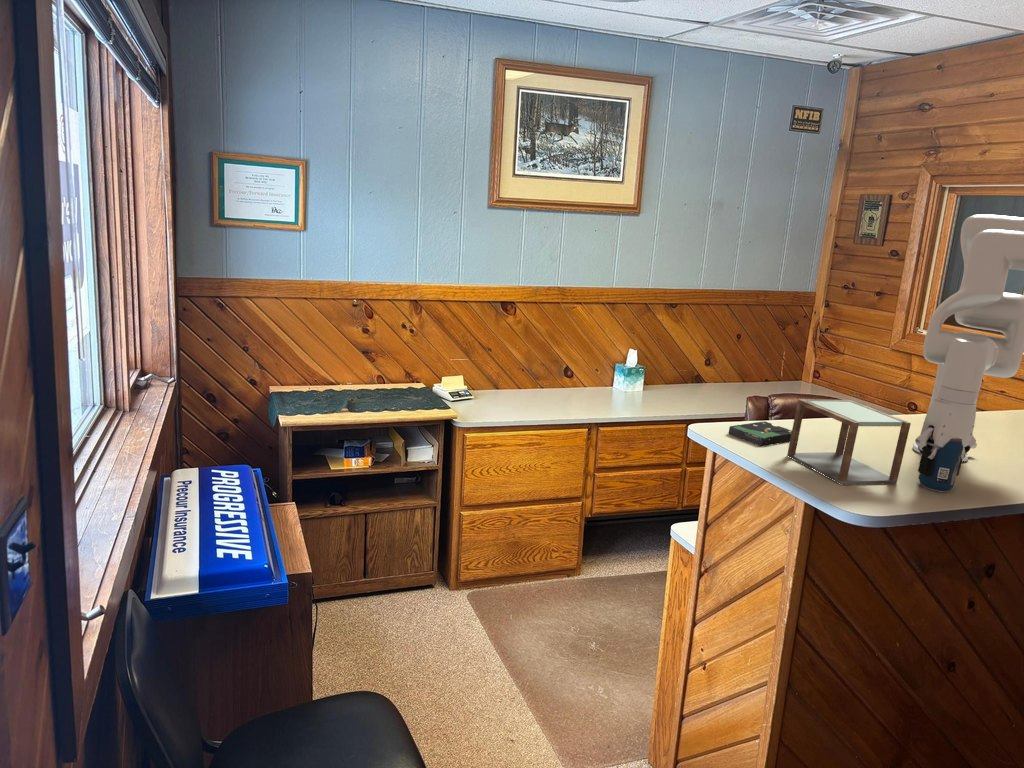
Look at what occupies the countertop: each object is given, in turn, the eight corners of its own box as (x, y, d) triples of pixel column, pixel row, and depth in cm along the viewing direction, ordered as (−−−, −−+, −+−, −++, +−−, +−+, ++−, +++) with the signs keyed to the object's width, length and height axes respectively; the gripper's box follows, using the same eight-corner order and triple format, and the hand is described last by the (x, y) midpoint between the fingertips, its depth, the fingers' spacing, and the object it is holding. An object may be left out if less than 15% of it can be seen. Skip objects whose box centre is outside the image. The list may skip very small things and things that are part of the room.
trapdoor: (807, 405, 176) (808, 401, 175) (849, 405, 179) (849, 401, 179) (857, 426, 161) (858, 421, 161) (901, 426, 165) (902, 422, 165)
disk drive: (762, 430, 202) (727, 435, 193) (763, 420, 201) (728, 425, 192) (796, 442, 194) (761, 448, 185) (798, 432, 193) (763, 437, 184)
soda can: (913, 479, 172) (926, 428, 169) (947, 485, 170) (960, 434, 167) (921, 489, 165) (934, 437, 162) (956, 495, 164) (969, 443, 161)
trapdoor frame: (787, 456, 180) (798, 399, 176) (838, 455, 184) (850, 400, 181) (841, 485, 163) (854, 422, 160) (896, 483, 168) (910, 423, 164)
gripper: (972, 392, 169) (953, 467, 173) (911, 390, 163) (893, 468, 168) (1002, 401, 162) (982, 479, 166) (940, 400, 157) (920, 481, 161)
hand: (937, 473), depth 167 cm, fingers closed on soda can, 6 cm apart
